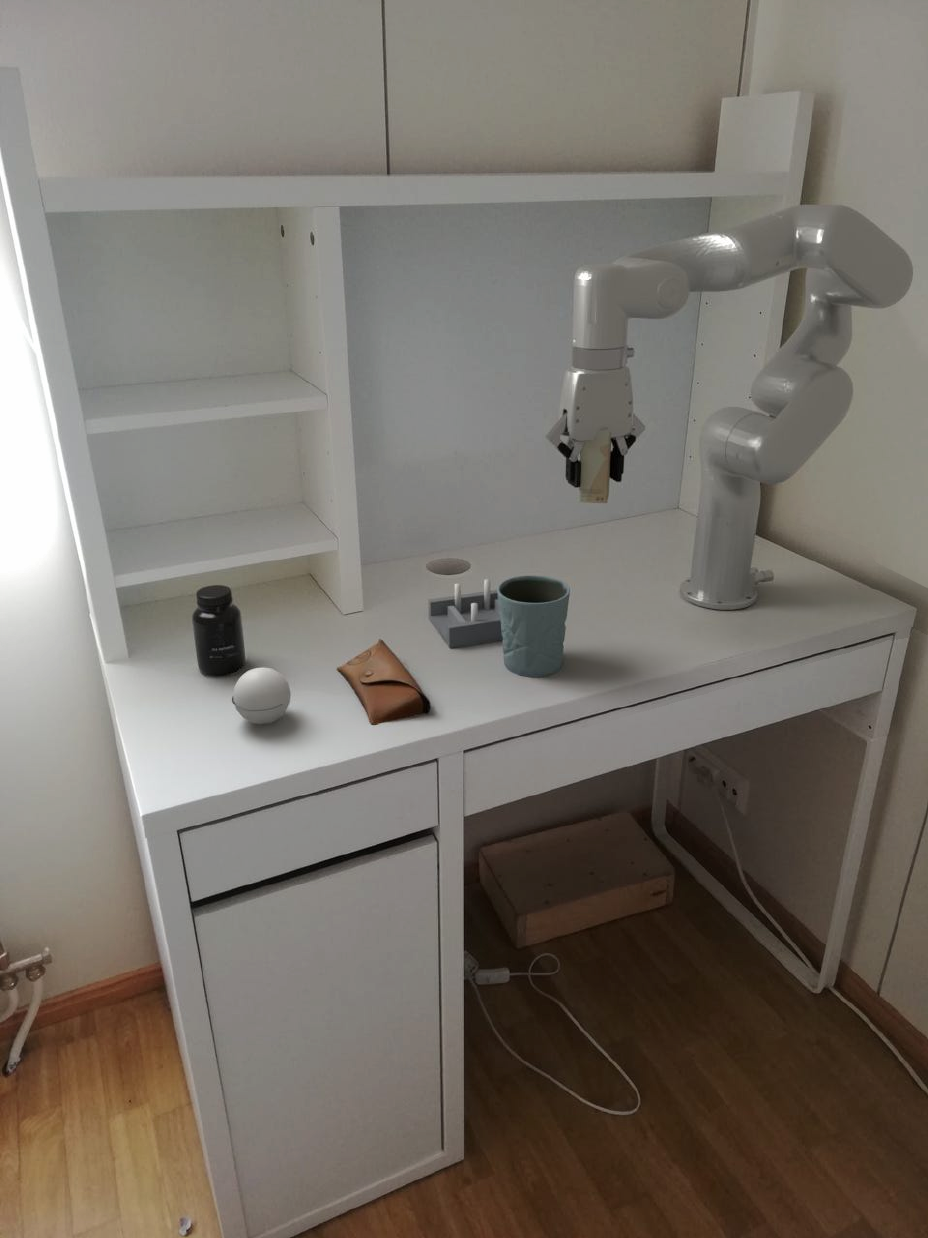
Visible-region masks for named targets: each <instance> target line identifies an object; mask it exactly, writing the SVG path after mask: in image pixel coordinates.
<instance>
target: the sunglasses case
mask: <svg viewBox="0 0 928 1238" xmlns="http://www.w3.org/2000/svg"><path fill="white" fill-rule="evenodd" d="M384 641H385V640H383V639H380V638H379V639H378V642H377V643H375V644H374V645H372V646H371V647H369V648H368V649H366V650H364V651H363V652H361V653H360V654H358V655H356V656H354V657H353V658H351V659H350V660H348V661H347V662H346V663H344V664H343V665H341V666H337V667H336V671H338V673H339V674H340V675H341V676H342V677H343V678H344V679H345V681H346V682H347V683H348V684H349V685H350V687H351V689H352V691H353V692H354V694H355V695H356V697H357V698H358V701H359V702H360V704H361V706H362V707H363V709H364V710H365V712H366V716H367V718H368V722H369V723H370V725H373V726H376V725H380V724H383V723H389V722H393V721H398V720H404V719H409V718H412V717H417V716H423V715H428V714H430V711H431V707H432V706H431V702H430V700H429V698H428V697H427V695H426V694H425V693H424V691H423V690H422V688H421V686H420V685H419V684H418V682H417V681H416V679H415V678H414V677H413V676H412V674H411V673H410V672H409V671H408V669H407V668H406V666H405V665H404V663H402V661H401V660H400V658H399V657H398V656H397V655H396V654H395V652H393V650H392V649H391V648H390V647H389V646H388V645H387V644H386V642H384Z"/></svg>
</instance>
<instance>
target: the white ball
mask: <svg viewBox="0 0 928 1238" xmlns="http://www.w3.org/2000/svg"><path fill="white" fill-rule="evenodd" d="M232 692H233V693H232V694H233V695H232V697H231V702H232V704H233V705H234V707H235V710H236V711H237V712H238V714H240V716H241V717H242V718H243V719H245V721H248V722H250V723H252V724H257V725H265V724H270V723H274V722H275V721H277V720H278V719H280V718H281V717H282V716H283V715H284V714H285V713H286V712H287V709H288V708H289V704H290V703H291V696H292V695H291V694H292V693H291V689H290V685H289V683H288V681H287V679H286V678H285V677H284V675H282V674H281V673H280V672H278V670H275V669H273V668H269V667H255V668H252V669H249V670H247V671H246V672H245V673H243V674H242V675H241V676H240V677H239V678H238V679H237V681H236V683H235V685H234V688H233V691H232Z"/></svg>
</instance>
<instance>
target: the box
mask: <svg viewBox="0 0 928 1238" xmlns="http://www.w3.org/2000/svg"><path fill="white" fill-rule="evenodd" d="M610 435H611V429H610V428H605V429H600V430H598V431H597V433H596V436H595V438H594V440H591V441H587V442H584V444H583V446H582V449H581V451H580V454H579V461H580V462H581V485H580V486H579V487H578V503H589V504H592V503H593V504H595V503H596V504H607V503H608V501H609V496H610V495H609V494H610V480H611V478H610V456H611V451H612V445H611V438H610Z"/></svg>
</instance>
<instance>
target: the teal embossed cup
mask: <svg viewBox="0 0 928 1238" xmlns="http://www.w3.org/2000/svg"><path fill="white" fill-rule="evenodd" d="M496 590H497V593H498V602H499V610H500V618H501V621H500V622H501V631H502V633H501V635H502V637H503V640H502V653H503V658H502V659H503V664H504V666H505V668H506V670H508V671H509V672H510V673H512V674H515V675H517V676H521V677H527V678H540V677H541V678H544V677H546V676H548V677H549V676H550V675H553V674H556V673H557V672H558V671H559V670H560V669H561V668H562V665H563V660H564V659H563V658H564V647H565V646H564V642H565V638H566V628H567V626H566V621H567V617H568V611H569V610H568V609H569V601H570V593H571V589H570V586H569V585H568V584H567V583H566V582H564V581H562V580H560V579H559V578H555V577H552V576H545V575H536V574H535V575H533V574H531V575H521V576H514V577H511V578H508V579H505V580H504V581H502V582H501V583H500V584H499V585H498V587H497V589H496Z"/></svg>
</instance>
